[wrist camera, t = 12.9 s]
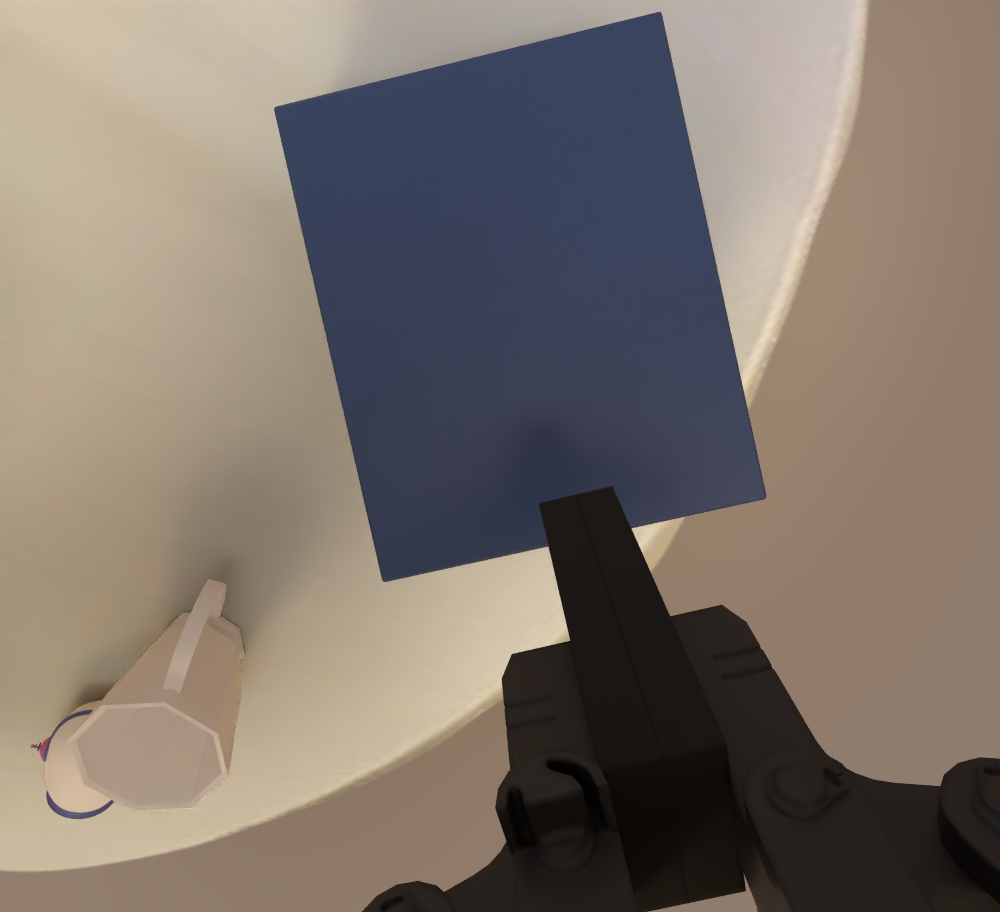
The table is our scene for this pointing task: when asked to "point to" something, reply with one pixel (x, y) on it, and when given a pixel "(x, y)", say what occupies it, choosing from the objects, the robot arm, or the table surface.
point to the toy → (69, 771)
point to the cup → (168, 715)
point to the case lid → (520, 295)
